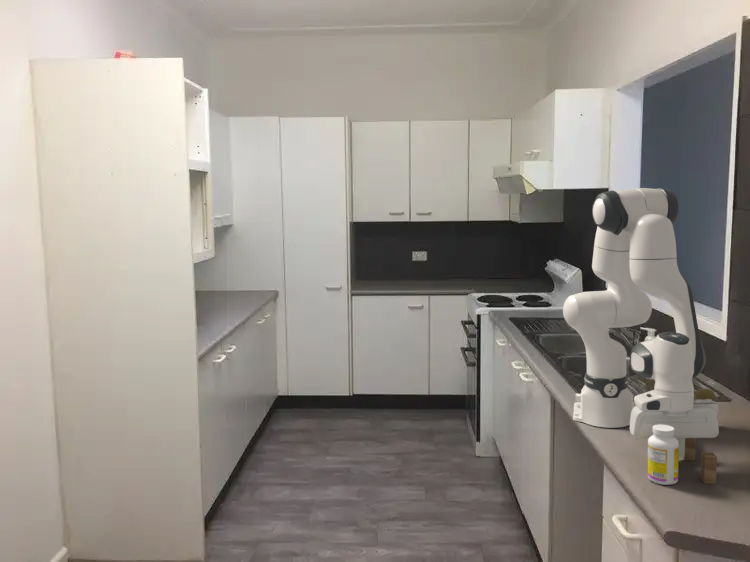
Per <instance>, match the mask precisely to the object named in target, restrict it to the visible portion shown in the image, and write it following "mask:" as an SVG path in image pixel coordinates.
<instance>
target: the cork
mask: <svg viewBox="0 0 750 562" xmlns="http://www.w3.org/2000/svg"><path fill="white" fill-rule="evenodd" d="M715 398H716V393H715V392H714V391H713V390H712V389H709V388H698V389H696V390H694V399H701V400H705V399H711V400H712V401H714V402H715Z"/></svg>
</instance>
